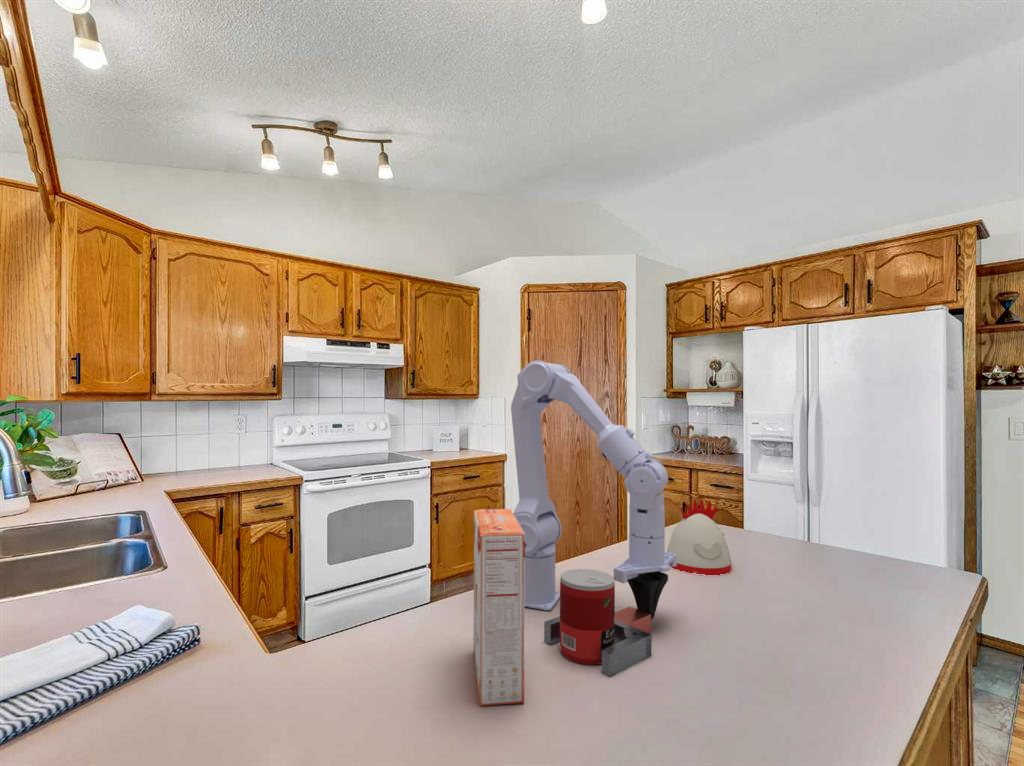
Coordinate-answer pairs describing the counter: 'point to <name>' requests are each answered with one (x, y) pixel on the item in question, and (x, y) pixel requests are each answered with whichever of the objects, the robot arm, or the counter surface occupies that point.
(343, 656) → the counter surface
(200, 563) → the counter surface
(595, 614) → the canned food
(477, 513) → the cracker box
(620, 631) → the clamp
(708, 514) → the kitchen timer
